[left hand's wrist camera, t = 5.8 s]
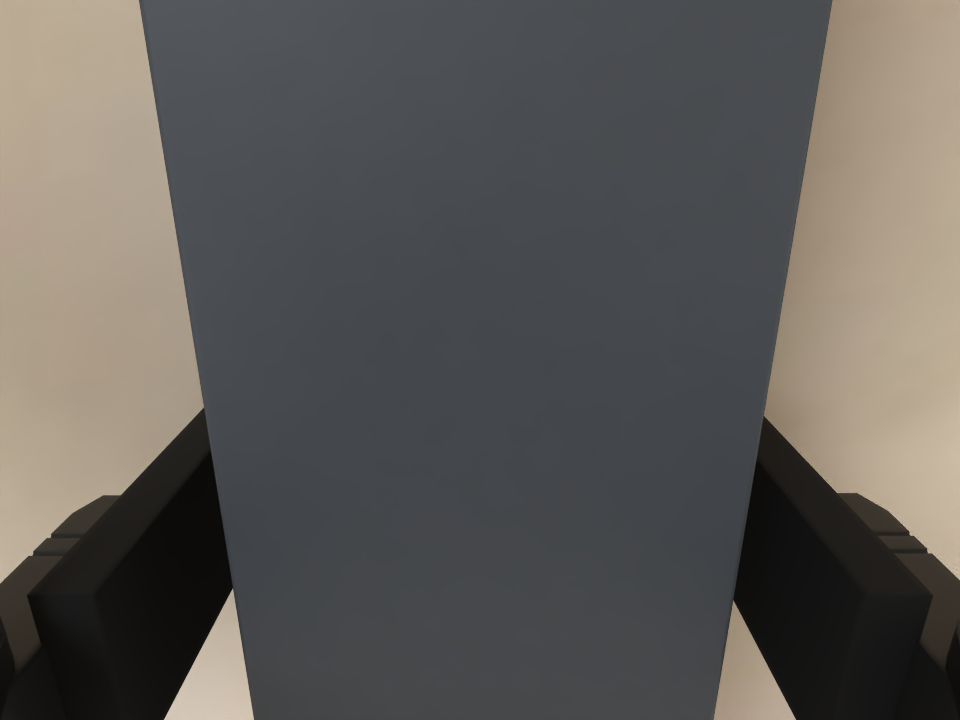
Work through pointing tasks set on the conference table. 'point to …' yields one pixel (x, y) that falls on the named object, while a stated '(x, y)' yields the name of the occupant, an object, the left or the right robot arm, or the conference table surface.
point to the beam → (484, 335)
